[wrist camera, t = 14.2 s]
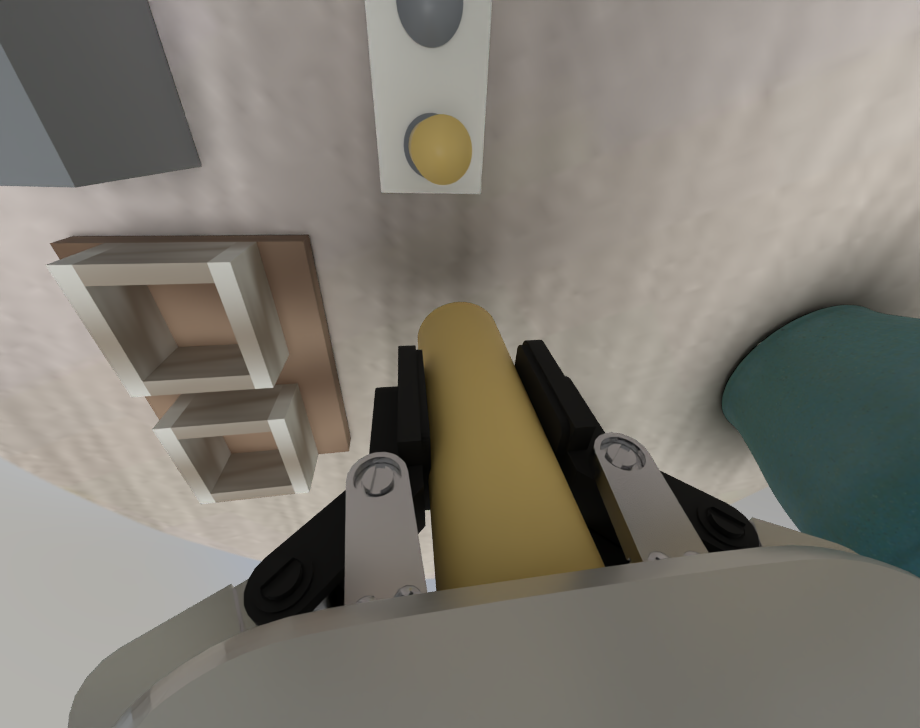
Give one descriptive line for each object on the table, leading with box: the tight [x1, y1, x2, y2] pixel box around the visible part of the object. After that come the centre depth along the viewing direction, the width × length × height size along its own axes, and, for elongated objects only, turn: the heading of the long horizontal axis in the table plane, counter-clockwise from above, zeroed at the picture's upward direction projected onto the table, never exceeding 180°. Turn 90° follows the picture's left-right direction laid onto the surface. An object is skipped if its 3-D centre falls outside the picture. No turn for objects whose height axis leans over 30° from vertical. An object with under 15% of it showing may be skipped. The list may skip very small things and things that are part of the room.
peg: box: [418, 302, 605, 591], centre depth 9 cm, size 3×3×12 cm
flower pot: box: [722, 305, 920, 578], centre depth 21 cm, size 18×18×17 cm
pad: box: [365, 0, 492, 194], centre depth 12 cm, size 8×5×5 cm, turn 178°
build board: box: [46, 235, 351, 504], centre depth 18 cm, size 14×10×4 cm
